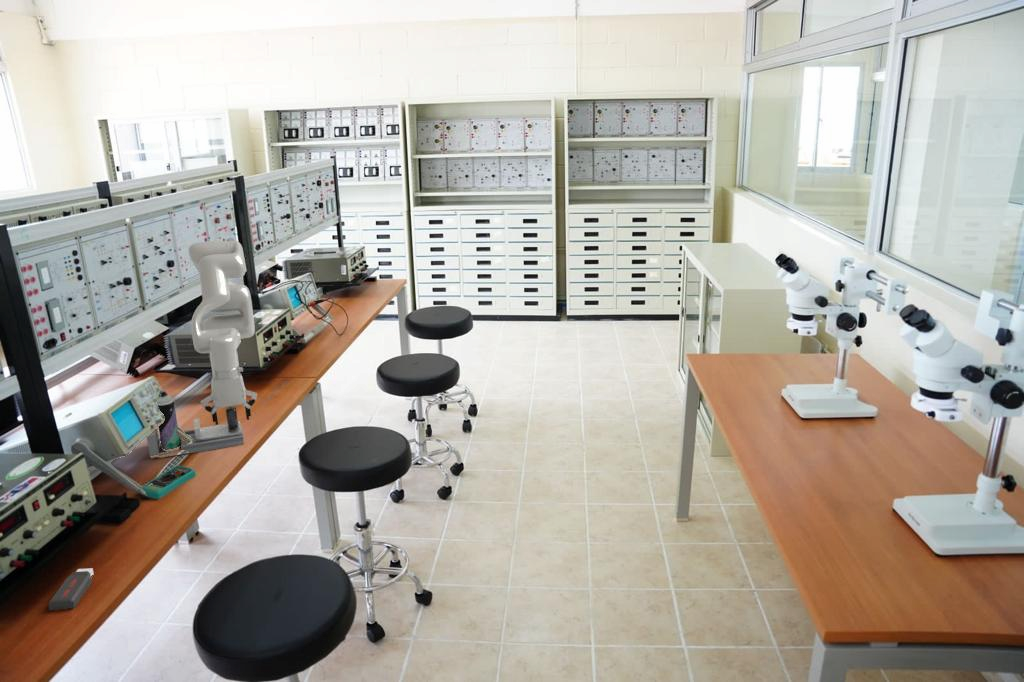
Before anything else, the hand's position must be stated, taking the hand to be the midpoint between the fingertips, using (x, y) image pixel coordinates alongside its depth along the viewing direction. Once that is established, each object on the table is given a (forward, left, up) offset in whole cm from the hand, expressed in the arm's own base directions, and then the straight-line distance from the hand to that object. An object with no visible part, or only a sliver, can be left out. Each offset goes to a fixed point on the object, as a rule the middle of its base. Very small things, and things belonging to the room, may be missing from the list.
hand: (232, 420), depth 226 cm
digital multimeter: (+24, -20, -7) cm, 32 cm away
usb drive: (+66, -39, -7) cm, 77 cm away
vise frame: (0, -11, -6) cm, 13 cm away
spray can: (0, -19, -7) cm, 20 cm away
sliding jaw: (0, -5, -5) cm, 7 cm away
